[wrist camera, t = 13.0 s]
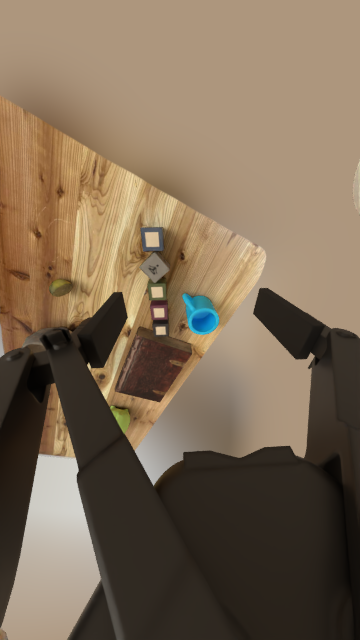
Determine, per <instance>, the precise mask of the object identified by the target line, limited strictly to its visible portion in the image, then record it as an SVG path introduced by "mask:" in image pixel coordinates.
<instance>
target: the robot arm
mask: <svg viewBox="0 0 360 640" xmlns="http://www.w3.org/2000/svg"><path fill="white" fill-rule="evenodd" d="M253 314H254V315H255V316H256V317H257V318H258V319H259V320H260V321H261V322H262V323H263V324H264V326H265V327H266V328H267V329H268V330H269V331H270V332H271V333H272V334H273V335H274V336H275V337H276V338H277V340H278V341H279V342H280V343H281V344H282V345H283V346H284V347H285V348H286V349H287V350H288V351H289V353H290V354H291V355H292V356H293V357H294V358H295V359H307V358H308V356H309V354H310V352H311V353H312V354H313V355H315V357H314V359H313V360H312V362H311V364H310V365H309V367H308V368H309V369H310V368H311V367H312V374H311V390H310V404H309V419H308V434H307V449H306V454H305V457H304V458H301V457H298V456H296V455H295V454H294V453H293V451H292V449H291V447H290V446H278V447H264V448H262V449H260V450H257V451H255V452H253V453H251V454H249V455H247V456H244V457H242V458H236V457H232V456H228V455H225V454H221V453H216V452H213V451H196V452H184V453H183V460H182V461H180V462H177V463H176V464H175V465H173V466H171V467H170V468H169V469H168V470H167V471H165V472H164V473H163V475H162V476H161V477H160V478H159V479H158V481H157V482H156V483H155V485H154V486H153V484H152V483H151V481H150V479H149V477H148V475H147V474H146V472H145V470H144V468H143V466H142V464H141V463H140V461H139V459H138V457H137V455H136V453H135V451H134V450H133V448H132V446H131V444H130V442H129V440H128V439H127V437H126V435H125V434H124V433H123V431H122V429H121V428H120V426H119V424H118V422H117V420H116V418H115V417H114V415H113V413H112V411H111V409H110V407H109V405H108V404H107V402H106V400H105V398H104V396H103V394H102V392H101V391H100V389H99V387H98V385H97V383H96V381H95V380H94V378H93V376H92V374H91V372H90V370H89V368H88V367H87V364H88V362H89V363H90V366H91V368H103V367H104V365H105V363H106V361H107V359H108V357H109V355H110V353H111V351H112V349H113V347H114V345H115V343H116V341H117V338H118V336H119V334H120V332H121V330H122V328H123V326H124V324H125V322H126V320H127V318H128V317H127V312H126V308H125V303H124V298H123V294H122V292H114V293H113V294H112V295H111V296H110V297H109V299H108V300H107V301H106V302H105V303H104V304H103V305H102V307H101V308H100V309H99V310H98V311H97V312H96V313H95V315H94V316H93V317H90V318H87V319H85V320H84V321H82V322H81V324H80V325H79V326H78V327H77V328H76V329H75V330H74V331H73V332H72V333H71V334H70V332H69V330H68V329H67V328H66V327H57V328H53V329H50V330H48V331H46V332H44V333H43V334H42V335H41V336H40V338H39V339H40V341H41V342H42V344H43V346H44V347H45V349H46V351H41V352H37V353H33V352H32V351H31V349H30V348H25V347H23V348H18V349H15V350H12V351H9V352H7V353H6V354H5V355H3V356H2V357H1V358H0V640H8V638H7V635H6V632H5V631H3V630H2V629H1V625H2V622H3V619H4V616H5V612H6V609H7V605H8V602H9V599H10V595H11V592H12V588H13V585H14V580H15V576H16V571H17V567H18V562H19V558H20V553H21V548H22V542H23V536H24V531H25V525H26V520H27V514H28V509H29V503H30V497H31V492H32V487H33V481H34V476H35V470H36V465H37V459H38V454H39V448H40V442H41V437H42V431H43V426H44V420H45V415H46V409H47V404H48V398H49V393H50V387H51V384H53V383H55V384H56V387H57V391H58V395H59V398H60V402H61V405H62V409H63V413H64V416H65V420H66V424H67V427H68V431H69V435H70V438H71V442H72V445H73V449H74V453H75V456H76V460H77V464H78V468H79V472H78V474H77V483H78V488H79V492H80V496H81V500H82V504H83V508H84V512H85V516H86V520H87V524H88V528H89V532H90V536H91V539H92V544H93V548H94V552H95V556H96V560H97V564H98V567H99V571H100V576H101V580H100V582H99V584H98V586H97V587H96V589H95V591H94V593H93V595H92V596H91V598H90V600H89V602H88V603H87V605H86V607H85V609H84V611H83V612H82V614H81V616H80V618H79V619H78V621H77V623H76V625H75V627H74V628H73V630H72V632H71V634H70V635H69V637H68V639H67V640H360V339H359V337H358V336H357V335H356V334H354V333H352V332H350V331H347V330H344V329H339V328H333V329H331V328H329V327H328V326H326V325H325V324H323V323H322V322H320V321H318V320H317V319H315V318H314V317H312V316H311V315H309V314H308V313H305V312H303V311H302V310H301V309H299V308H297V307H296V306H294V305H293V304H291V303H290V302H288V301H287V300H285V299H283V298H282V297H280V296H279V295H277V294H276V293H274V292H273V291H271V290H270V289H268V288H260V289H259V293H258V297H257V301H256V305H255V308H254V313H253Z"/></svg>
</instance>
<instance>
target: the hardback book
mask: <svg viewBox="0 0 360 640" xmlns="http://www.w3.org/2000/svg"><path fill="white" fill-rule="evenodd" d="M191 355H192V349H191V344H188V343H185V342H182V341H180V340H177V339H174V338H171V337H168V336H166V337H154V333H153V331H151V330H148V329H146V328H143V327H139V328H138V330H137V333H136V335H135V338H134V340H133V343H132V346H131V348H130V351H129V353H128V356H127V358H126V361H125V363H124V366H123V368H122V371H121V374H120V376H119V379H118V381H117V384H116V387H115V392H119V393H123V394H128V395H132V396H136V397H140V398H144V399H148V400H152V401H157V402H161V400H162V399H163V397H164V395H165V394H166V392H167V391H168V389H169V388H170V386H171V385H172V383H173V382H174V380H175V379H176V377H177V376H178V374H179V373H180V371H181V370H182V368H183V367H184V365H185V364H186V362H187V361H188V359H189V358H190V356H191Z"/></svg>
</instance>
